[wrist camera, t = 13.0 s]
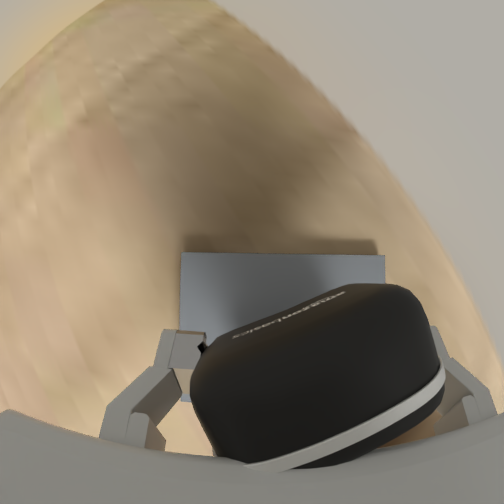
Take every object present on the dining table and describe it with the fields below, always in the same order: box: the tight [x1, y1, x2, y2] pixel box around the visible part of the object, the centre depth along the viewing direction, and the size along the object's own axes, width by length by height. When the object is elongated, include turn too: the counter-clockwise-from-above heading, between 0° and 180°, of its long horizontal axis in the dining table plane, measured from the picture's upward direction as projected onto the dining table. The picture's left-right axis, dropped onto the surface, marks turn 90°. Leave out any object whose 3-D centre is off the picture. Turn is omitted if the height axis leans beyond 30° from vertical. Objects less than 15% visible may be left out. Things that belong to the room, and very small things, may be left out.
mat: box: [180, 252, 385, 402], centre depth 19 cm, size 13×10×1 cm
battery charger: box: [190, 283, 446, 473], centre depth 11 cm, size 7×4×11 cm, turn 111°
